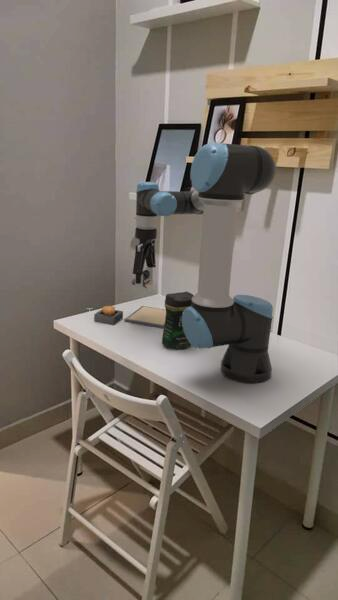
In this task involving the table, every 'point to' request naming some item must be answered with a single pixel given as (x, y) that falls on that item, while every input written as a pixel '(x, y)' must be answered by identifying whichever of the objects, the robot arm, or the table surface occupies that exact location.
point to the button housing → (108, 317)
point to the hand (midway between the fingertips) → (143, 288)
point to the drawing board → (148, 317)
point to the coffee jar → (175, 320)
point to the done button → (109, 310)
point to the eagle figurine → (145, 276)
